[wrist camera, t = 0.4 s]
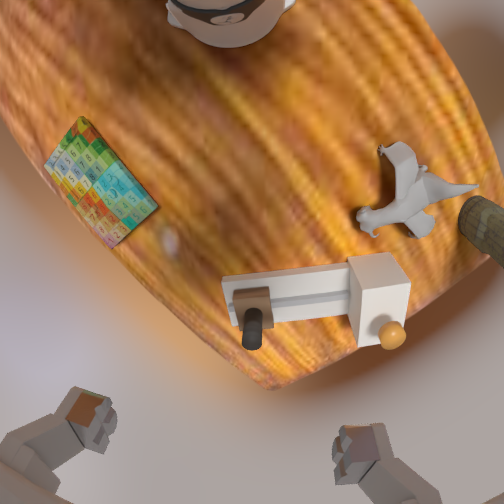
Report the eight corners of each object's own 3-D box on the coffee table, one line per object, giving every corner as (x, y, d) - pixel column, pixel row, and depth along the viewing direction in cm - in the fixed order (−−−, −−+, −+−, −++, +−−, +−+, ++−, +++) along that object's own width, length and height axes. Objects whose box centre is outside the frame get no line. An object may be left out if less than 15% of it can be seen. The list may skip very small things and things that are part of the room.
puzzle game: (109, 251, 47) (40, 167, 40) (120, 239, 51) (55, 161, 44) (153, 211, 43) (76, 117, 36) (163, 201, 47) (91, 114, 40)
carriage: (233, 289, 51) (227, 328, 42) (268, 286, 50) (268, 324, 42) (241, 320, 54) (236, 359, 45) (273, 317, 53) (274, 357, 45)
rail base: (221, 271, 52) (212, 306, 43) (389, 251, 49) (411, 282, 40) (234, 326, 58) (229, 363, 49) (384, 308, 55) (399, 342, 46)
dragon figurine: (378, 130, 40) (395, 141, 32) (453, 166, 40) (480, 185, 32) (347, 211, 48) (355, 238, 40) (420, 238, 48) (437, 267, 40)
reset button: (379, 323, 40) (382, 332, 38) (403, 318, 39) (408, 327, 37) (376, 342, 41) (379, 351, 40) (399, 338, 41) (403, 346, 39)
